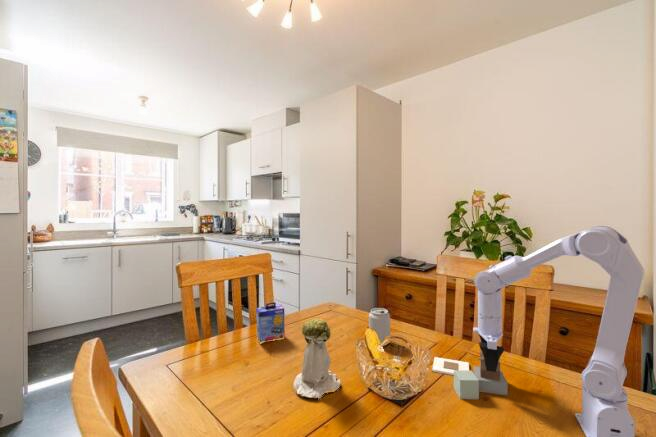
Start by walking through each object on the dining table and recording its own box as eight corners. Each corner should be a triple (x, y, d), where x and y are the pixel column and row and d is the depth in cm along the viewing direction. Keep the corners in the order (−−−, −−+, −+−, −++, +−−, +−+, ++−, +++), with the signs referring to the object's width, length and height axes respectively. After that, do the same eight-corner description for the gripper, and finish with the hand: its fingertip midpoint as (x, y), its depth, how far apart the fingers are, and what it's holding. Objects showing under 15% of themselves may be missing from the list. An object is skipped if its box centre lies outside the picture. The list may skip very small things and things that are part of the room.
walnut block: (500, 380, 81) (500, 361, 81) (480, 377, 83) (480, 358, 82) (498, 371, 85) (498, 353, 85) (479, 368, 87) (479, 351, 87)
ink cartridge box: (259, 345, 112) (258, 305, 111) (256, 339, 117) (255, 301, 116) (285, 339, 116) (284, 301, 115) (281, 334, 121) (280, 297, 120)
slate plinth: (507, 396, 80) (507, 383, 79) (477, 392, 82) (477, 379, 82) (501, 381, 86) (501, 369, 86) (473, 378, 88) (473, 366, 88)
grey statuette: (285, 385, 87) (283, 320, 86) (322, 369, 95) (321, 310, 94) (308, 406, 77) (306, 334, 77) (347, 386, 85) (346, 321, 84)
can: (390, 348, 107) (389, 314, 106) (368, 347, 108) (368, 313, 108) (390, 339, 114) (390, 307, 114) (370, 338, 116) (369, 306, 115)
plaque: (469, 378, 88) (469, 375, 88) (432, 371, 92) (432, 368, 92) (468, 364, 95) (468, 361, 95) (434, 358, 99) (434, 356, 99)
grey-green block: (478, 399, 78) (478, 380, 78) (460, 399, 79) (460, 380, 78) (471, 388, 83) (471, 370, 83) (453, 388, 83) (453, 370, 83)
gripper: (472, 304, 91) (472, 349, 92) (474, 322, 78) (474, 374, 79) (499, 307, 89) (499, 353, 89) (506, 325, 75) (506, 380, 76)
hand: (489, 363), depth 84 cm, fingers open, 7 cm apart
